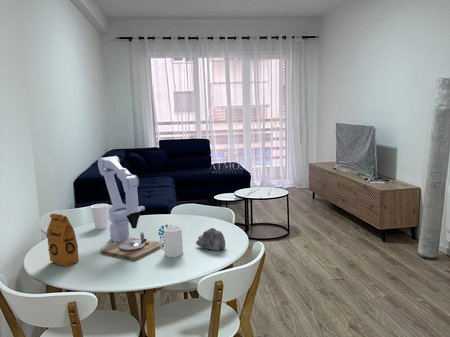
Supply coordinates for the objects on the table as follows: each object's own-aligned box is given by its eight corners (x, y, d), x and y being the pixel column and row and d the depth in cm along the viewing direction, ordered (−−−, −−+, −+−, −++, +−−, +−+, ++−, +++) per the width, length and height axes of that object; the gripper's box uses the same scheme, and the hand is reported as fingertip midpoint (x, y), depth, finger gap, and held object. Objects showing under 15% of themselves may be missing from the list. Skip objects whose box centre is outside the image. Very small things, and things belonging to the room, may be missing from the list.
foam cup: (92, 226, 229) (89, 205, 227) (108, 224, 233) (106, 202, 231) (94, 231, 220) (91, 208, 218) (110, 228, 224) (109, 206, 222)
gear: (160, 241, 193) (157, 223, 199) (157, 247, 198) (154, 229, 203) (181, 240, 198) (178, 223, 204) (178, 246, 202) (175, 229, 208)
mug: (165, 260, 173) (163, 234, 171) (155, 255, 179) (153, 230, 178) (187, 253, 181) (185, 228, 179) (176, 249, 187) (175, 224, 185)
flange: (122, 252, 180) (121, 240, 179) (117, 244, 191) (116, 233, 190) (152, 246, 186) (151, 235, 185) (145, 239, 197) (145, 228, 196)
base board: (100, 253, 185) (99, 245, 185) (130, 240, 202) (130, 233, 202) (134, 260, 174) (134, 253, 174) (164, 246, 191) (163, 239, 190)
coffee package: (62, 269, 168) (56, 219, 165) (47, 263, 176) (41, 215, 172) (82, 261, 176) (78, 213, 173) (67, 255, 184) (62, 210, 180)
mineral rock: (195, 246, 189) (193, 226, 188) (213, 241, 195) (213, 222, 193) (208, 254, 179) (207, 233, 177) (228, 249, 184) (227, 228, 183)
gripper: (127, 205, 181) (129, 233, 183) (148, 198, 193) (150, 224, 195) (116, 203, 185) (118, 231, 187) (137, 197, 197) (139, 223, 199)
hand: (134, 227), depth 191 cm, fingers closed
